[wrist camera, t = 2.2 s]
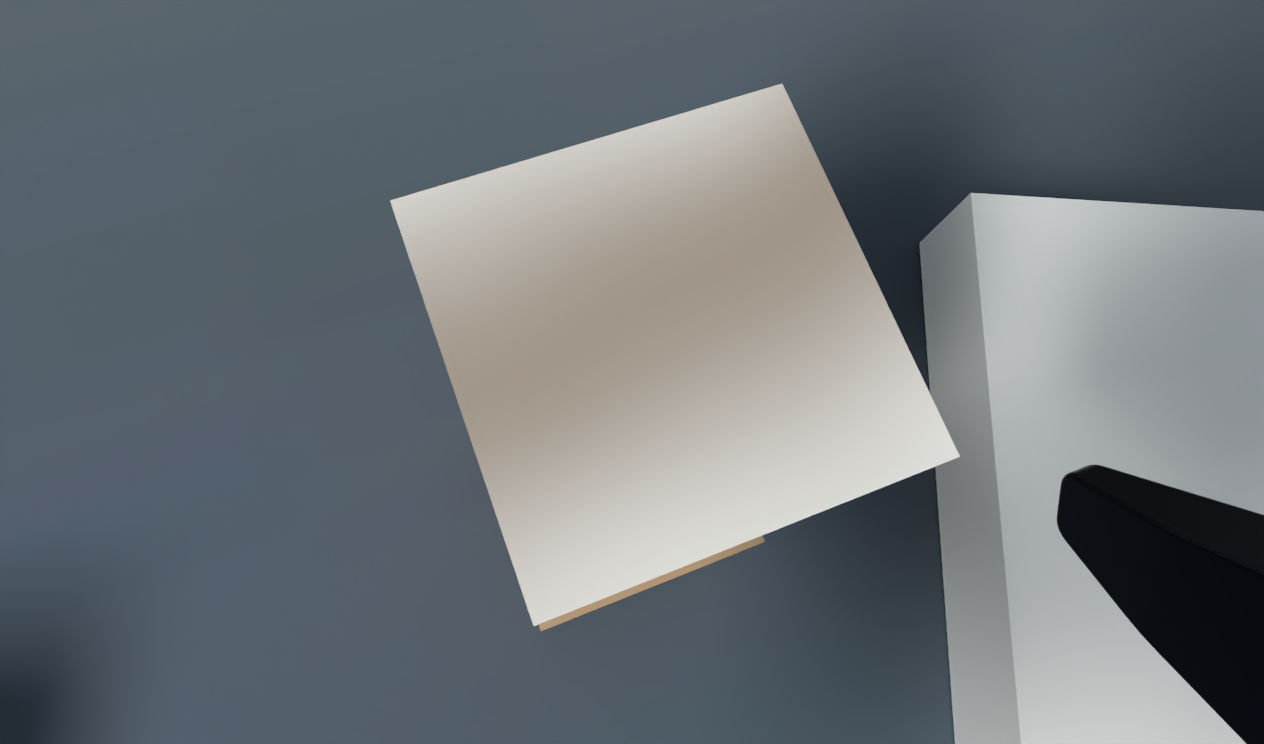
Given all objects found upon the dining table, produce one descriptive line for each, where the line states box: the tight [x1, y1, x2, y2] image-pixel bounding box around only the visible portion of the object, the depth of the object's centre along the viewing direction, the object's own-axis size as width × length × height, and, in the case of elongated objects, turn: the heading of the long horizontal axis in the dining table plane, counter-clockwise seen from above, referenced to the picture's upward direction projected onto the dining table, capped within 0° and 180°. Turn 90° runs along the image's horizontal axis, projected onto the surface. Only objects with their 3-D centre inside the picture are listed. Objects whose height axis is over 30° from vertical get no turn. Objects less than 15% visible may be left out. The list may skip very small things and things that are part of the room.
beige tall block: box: [390, 84, 960, 631], centre depth 14 cm, size 6×6×12 cm
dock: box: [919, 193, 1264, 744], centre depth 19 cm, size 18×11×3 cm, turn 178°
